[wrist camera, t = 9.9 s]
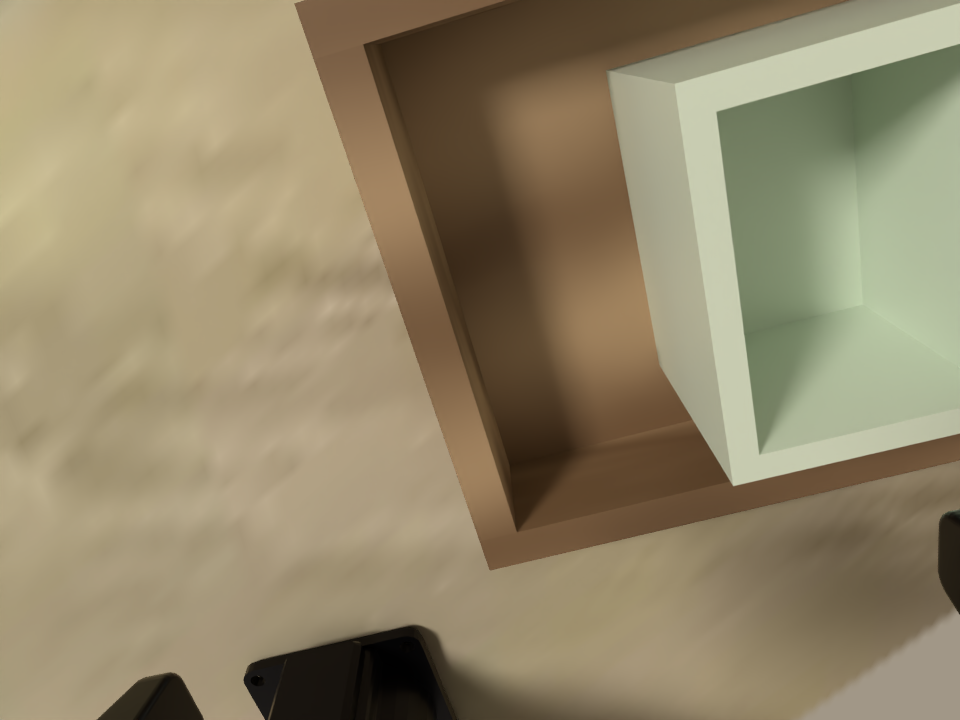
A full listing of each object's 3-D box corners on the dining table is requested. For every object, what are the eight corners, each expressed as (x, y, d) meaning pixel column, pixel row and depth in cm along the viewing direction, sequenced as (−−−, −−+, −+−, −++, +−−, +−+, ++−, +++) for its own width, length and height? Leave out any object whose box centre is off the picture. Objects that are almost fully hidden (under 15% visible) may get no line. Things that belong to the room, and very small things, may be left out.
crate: (1073, 340, 21) (1203, 403, 17) (485, 484, 23) (490, 570, 19) (1119, -264, 15) (1327, -361, 12) (323, -12, 17) (284, -26, 13)
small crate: (874, 311, 20) (1034, 415, 14) (659, 365, 20) (733, 486, 15) (861, -4, 16) (1061, -26, 11) (606, 70, 17) (674, 84, 11)
